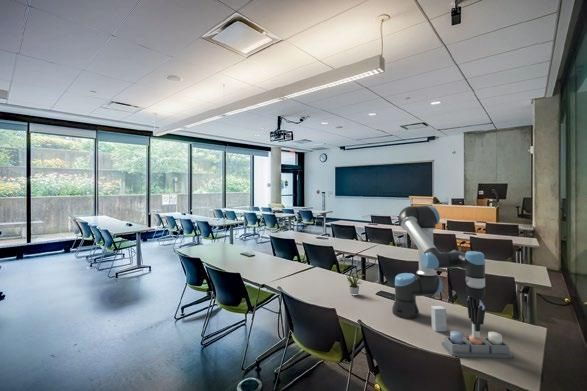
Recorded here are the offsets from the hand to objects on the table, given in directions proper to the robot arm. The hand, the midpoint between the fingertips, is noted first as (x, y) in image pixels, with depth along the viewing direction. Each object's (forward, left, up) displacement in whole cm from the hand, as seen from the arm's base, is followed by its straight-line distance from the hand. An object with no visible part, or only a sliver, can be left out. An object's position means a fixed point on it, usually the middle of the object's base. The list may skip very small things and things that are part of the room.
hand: (475, 336), depth 131 cm
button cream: (0, +8, -2) cm, 9 cm away
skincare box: (-20, -8, -7) cm, 23 cm away
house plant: (-71, -44, -7) cm, 84 cm away
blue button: (0, -9, -2) cm, 9 cm away
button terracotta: (0, 0, -4) cm, 4 cm away
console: (0, 0, -7) cm, 7 cm away
